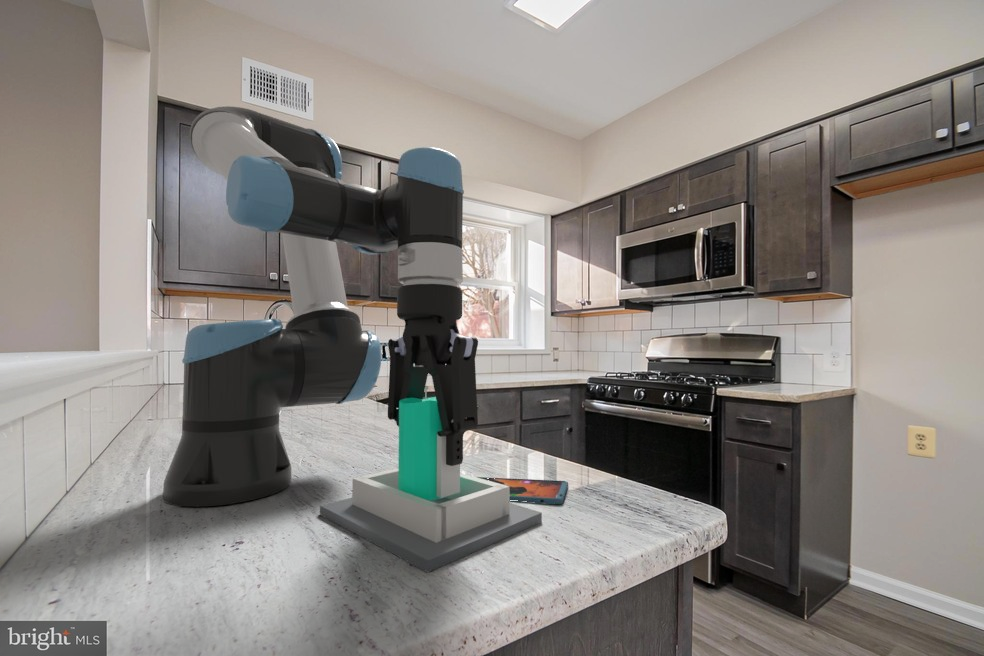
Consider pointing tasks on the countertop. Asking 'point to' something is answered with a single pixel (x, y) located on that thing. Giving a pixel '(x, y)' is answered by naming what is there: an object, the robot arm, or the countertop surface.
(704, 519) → the countertop surface
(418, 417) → the candle
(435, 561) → the dock
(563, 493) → the smartphone
